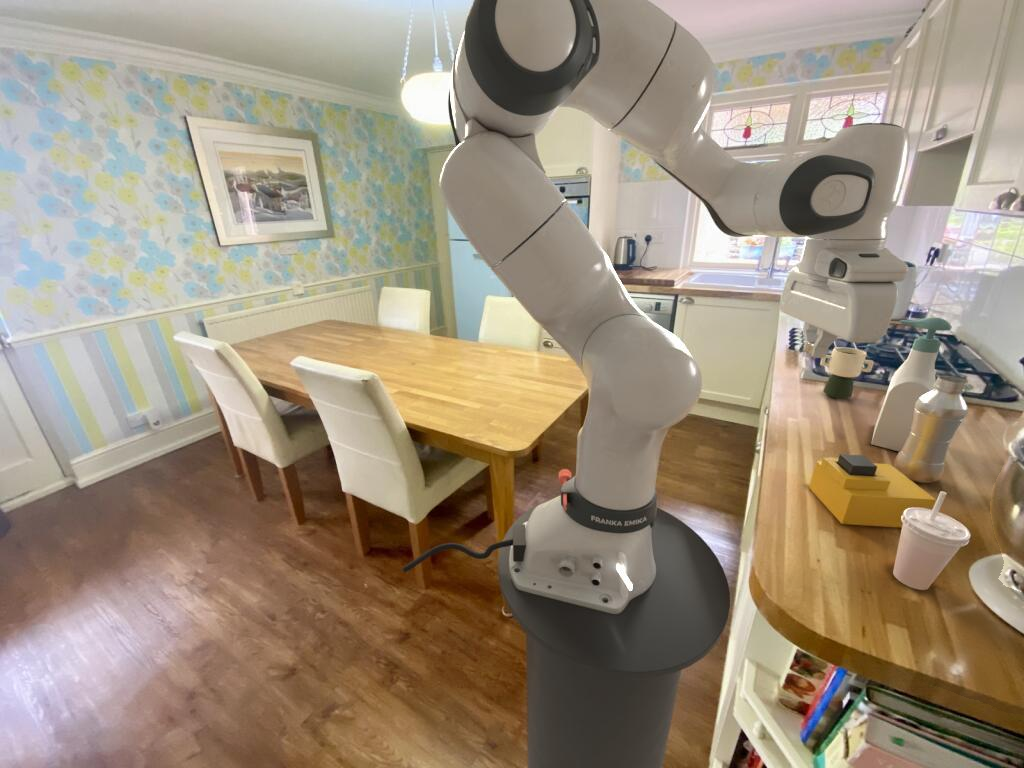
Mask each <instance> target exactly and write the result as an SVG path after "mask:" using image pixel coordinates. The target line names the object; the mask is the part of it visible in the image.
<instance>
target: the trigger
mask: <svg viewBox="0 0 1024 768" xmlns="http://www.w3.org/2000/svg"><path fill="white" fill-rule="evenodd" d="M838 458H839V459H838V462H837V464H838V465H839V466H840V467H841V468H842V469H843V470H844V471H846V472H847V473H848V474H849V475H854V476H874V475H875V472H876V469H877V466H876V465H875V464H873V463H874V462H872V461H871V460H869V459H868V458H867V457H866V456H865V455H864V454H847V453H840V454H839V456H838Z"/></svg>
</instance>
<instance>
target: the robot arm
mask: <svg viewBox="0 0 1024 768" xmlns="http://www.w3.org/2000/svg"><path fill="white" fill-rule="evenodd" d="M464 25H465V26H464V32H463V34H462V36H461V39H460V43H459V44H458V47H457V49H456V52H455V54H454V58H453V63H452V69H451V74H450V75H451V76H450V88H449V93H448V99H447V100H448V101H447V104H448V105H447V107H448V116H449V121H450V126H451V130H452V133H453V137H454V142H455V147H454V149H453V150H452V151H451V152H450V153H449V155H448V157H447V159H446V160H445V162H444V164H443V167H442V170H441V173H440V178H439V191H440V196H441V198H442V200H443V204H445V206H446V208H447V210H448V211H449V213H450V215H451V217H452V218H453V220H454V221H455V223H456V225H457V226H458V228H459V229H460V231H461V232H462V234H463V235H464V237H465V238H466V240H467V241H468V242H469V244H470V245H471V247H472V248H473V249H474V250H475V252H476V253H477V255H478V256H479V257H480V259H482V261H483V262H484V263H485V265H486V266H487V267H488V268H489V269H490V270H491V272H493V274H494V275H495V276H496V277H497V279H499V281H500V282H501V283H502V284H503V286H504V287H505V288H506V289H507V290H508V291H509V292H510V293H511V295H512V296H513V297H514V298H515V299H516V300H517V302H518V303H519V304H520V305H521V306H522V308H523V309H524V310H525V311H526V312H527V313H528V315H529V316H530V317H531V318H532V319H533V320H534V321H535V322H536V323H537V324H538V325H539V326H540V327H541V328H542V329H543V330H544V331H545V332H546V333H547V334H548V335H549V336H550V337H551V338H552V339H553V340H554V341H555V342H556V343H557V344H558V346H560V348H561V349H563V351H564V352H565V353H566V354H567V355H568V356H569V357H570V359H571V360H572V361H573V362H574V363H575V365H576V366H577V367H578V369H579V370H580V372H581V374H582V375H583V376H584V378H585V380H586V385H587V391H588V401H587V403H588V404H587V409H586V415H585V418H584V421H583V425H582V427H581V428H580V429H579V430H578V433H577V439H576V440H577V441H576V457H575V458H576V461H575V475H574V476H572V475H573V474H572V471H570V469H568V468H563V469H561V470H560V471H559V472H558V480H557V481H558V484H559V485H560V495H558V496H556V497H554V499H553V498H551V499H552V500H550V499H548V500H549V501H547V500H546V501H547V502H545V501H544V502H545V503H543V502H542V503H543V504H540V503H539V504H540V505H538V504H537V505H538V506H537V507H536V508H535V509H534V510H533V512H532V513H531V515H530V517H529V520H528V521H527V522H525V523H523V524H514V523H513V524H514V525H513V524H512V525H513V539H511V540H506V541H503V540H501V541H497V542H495V543H493V544H491V545H489V546H488V547H487V548H486V550H485V551H484V552H477V551H474V550H472V549H470V548H469V547H467V546H465V545H463V544H460V543H457V542H446V543H442V544H439V545H436V546H434V547H432V548H430V549H428V550H426V551H425V552H423V553H422V554H421V555H419V556H418V557H417V558H415V559H413V560H412V561H410V562H408V563H407V564H405V565H404V566H402V567H401V568H402V571H403V573H404V574H405V573H408V572H409V571H410V570H411V569H413V568H415V567H417V566H418V565H419V564H421V563H422V562H423V561H425V560H426V559H428V558H430V557H431V556H432V555H433V556H434V554H437V553H439V552H441V551H445V550H457V551H460V552H462V553H464V554H466V555H467V556H469V557H471V558H473V559H477V560H486V559H487V558H489V557H490V556H491V555H492V552H493V551H496V550H498V549H500V548H502V547H507V546H511V548H510V555H509V572H510V576H511V579H512V582H513V584H514V585H515V587H516V588H517V589H518V590H521V591H525V592H528V593H532V594H536V595H540V596H544V597H548V598H552V599H556V600H560V601H564V602H568V603H572V604H576V605H580V606H583V607H587V608H591V609H595V610H599V611H603V612H607V613H611V614H619V613H621V612H622V611H623V610H624V609H625V607H626V606H627V604H628V603H629V601H630V600H631V599H633V598H635V597H637V596H639V595H640V594H642V593H644V592H645V591H646V590H647V589H648V588H649V587H650V586H651V585H652V583H653V582H654V579H655V576H656V565H655V561H654V557H653V550H652V535H651V532H652V527H653V525H654V519H655V518H656V511H657V508H658V492H657V490H656V486H657V485H656V484H657V478H658V471H659V464H660V458H661V453H662V452H661V451H662V447H663V444H664V441H665V438H666V437H667V434H668V432H669V430H670V428H672V427H673V426H675V425H677V424H678V423H680V422H681V421H683V420H684V419H685V418H686V417H687V416H688V415H690V413H691V412H692V411H693V410H694V409H695V407H696V405H697V404H698V401H699V399H700V396H701V393H702V388H703V377H702V372H701V370H700V367H699V365H698V363H697V362H696V360H695V358H694V357H693V355H692V353H691V352H690V351H689V349H688V348H687V346H686V345H685V344H684V342H683V341H682V340H681V339H680V338H679V337H678V336H677V335H675V334H674V333H672V332H671V331H669V330H667V329H666V328H664V327H662V325H659V324H658V323H656V322H655V321H654V320H652V319H651V318H650V317H649V316H648V315H646V314H645V313H644V312H643V311H642V310H641V309H640V308H639V307H638V306H637V304H636V303H635V301H634V300H633V299H632V297H631V295H630V294H629V293H628V291H627V290H626V288H625V286H624V284H623V283H622V281H621V280H620V277H619V275H618V274H617V272H616V271H615V268H614V267H613V265H612V263H611V259H610V257H609V255H608V254H607V252H606V251H605V250H604V248H602V246H601V245H600V243H599V242H598V241H597V239H596V238H595V237H594V235H593V234H592V233H591V231H590V230H589V228H588V227H587V226H586V224H585V223H584V221H583V220H582V219H581V218H580V216H579V215H578V213H577V212H576V211H575V209H574V208H573V207H572V205H571V204H570V203H569V202H568V200H567V199H566V197H565V196H564V195H563V194H562V192H561V191H560V190H559V188H558V187H557V186H556V184H555V183H554V182H553V181H552V180H551V178H550V177H549V176H548V175H547V172H546V170H545V168H544V166H543V164H542V162H541V160H540V157H539V154H538V149H537V143H536V136H537V135H538V134H540V133H542V131H543V130H544V129H545V128H546V127H547V126H548V125H549V123H550V122H551V120H552V119H553V117H554V116H555V114H556V112H557V111H558V110H559V108H572V109H574V110H575V109H576V110H577V111H581V112H582V113H585V114H587V115H588V116H589V117H591V118H592V119H593V120H594V121H596V122H597V123H599V124H600V125H601V126H603V127H604V128H606V129H607V130H608V131H610V132H611V133H612V134H614V135H615V136H616V137H618V138H620V139H621V140H623V141H625V142H626V143H628V144H629V145H631V146H632V147H633V148H635V149H637V150H638V151H640V152H642V153H643V154H644V155H646V157H648V158H650V159H651V160H653V162H654V163H655V164H656V165H657V166H659V167H660V168H661V169H662V171H665V172H666V173H667V174H668V175H669V176H671V177H672V178H673V179H674V180H675V181H677V182H678V183H679V184H681V186H683V188H686V189H687V190H688V191H689V192H690V193H692V194H693V195H694V196H695V197H696V198H698V199H699V201H701V203H702V204H703V205H704V207H705V208H706V210H707V211H708V213H709V216H710V217H711V220H712V221H713V223H714V224H715V226H716V227H717V228H718V229H719V230H720V231H721V232H722V233H723V234H724V235H727V236H729V237H732V238H733V237H734V238H744V237H746V238H747V237H769V238H805V241H804V244H803V250H802V254H801V257H800V259H799V260H798V261H797V262H796V263H795V266H794V267H793V268H791V269H790V271H789V273H788V275H787V278H786V280H785V283H784V287H783V289H782V293H781V295H780V296H781V297H780V301H779V309H780V312H781V313H784V314H786V315H788V316H791V317H792V318H795V319H797V320H799V321H801V322H803V328H802V330H803V335H804V344H803V349H802V350H803V352H804V353H806V354H808V355H810V356H811V357H813V358H814V359H822V358H824V357H826V355H828V351H829V348H830V347H831V345H833V343H834V342H835V341H836V340H837V339H838V338H840V339H842V340H843V341H846V342H848V343H855V344H874V343H878V342H879V341H880V340H881V339H882V338H883V337H885V336H886V334H887V333H888V332H887V331H888V329H889V327H890V324H891V321H892V318H893V315H894V312H895V309H896V305H897V302H898V298H899V288H898V285H897V284H896V283H898V282H899V283H900V282H903V281H904V280H905V279H906V277H907V274H908V271H909V265H908V264H907V263H906V262H905V261H903V260H902V259H900V258H899V257H898V256H896V255H895V254H894V253H892V252H891V251H890V249H888V248H887V247H886V242H887V239H888V234H889V232H888V231H889V230H888V224H889V219H890V217H891V214H892V212H893V210H894V209H895V207H896V206H897V204H898V202H899V200H900V197H901V196H900V195H901V193H902V188H903V185H904V181H905V177H906V173H907V168H908V164H909V156H910V148H911V147H910V146H911V142H910V141H911V139H910V134H909V131H908V130H907V129H905V128H904V127H903V126H901V125H898V124H893V123H890V122H889V123H888V122H862V123H856V124H851V125H849V126H846V127H843V128H842V129H840V130H839V131H838V132H837V133H836V134H835V136H833V137H832V138H831V139H830V140H828V141H827V142H825V143H823V144H822V145H819V146H817V147H816V148H814V149H812V150H809V151H807V152H804V153H802V154H800V155H798V156H794V157H790V158H785V159H779V160H773V161H768V162H767V161H766V162H743V161H740V160H737V159H735V158H734V157H733V156H731V154H729V153H728V152H727V151H726V150H725V149H724V148H723V147H722V146H721V145H720V144H719V143H717V142H716V141H715V139H713V138H712V136H711V135H709V134H708V133H707V132H706V131H705V130H704V129H703V127H702V125H701V123H702V121H703V120H704V117H705V116H706V114H707V112H708V110H709V108H710V105H711V102H712V99H713V95H714V89H715V79H716V78H715V77H716V76H715V66H714V62H713V59H712V58H711V57H710V55H709V54H708V51H707V50H706V49H705V48H704V46H703V45H702V44H701V42H700V41H699V40H698V39H697V38H696V37H695V36H694V35H693V34H692V33H691V32H690V31H689V30H688V29H686V28H685V27H684V26H682V25H681V24H680V23H679V22H678V21H676V20H675V19H674V18H673V17H671V16H670V15H669V14H668V13H667V12H666V11H664V10H663V9H661V8H659V6H657V5H655V4H654V3H653V2H652V1H650V0H473V2H472V4H471V6H470V8H469V10H468V14H467V17H466V20H465V24H464ZM516 571H518V572H516ZM603 601H606V602H607V603H604V602H603Z"/></svg>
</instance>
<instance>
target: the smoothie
mask: <svg viewBox="0 0 1024 768" xmlns="http://www.w3.org/2000/svg"><path fill="white" fill-rule="evenodd" d="M946 496H947V492H945V491H942V490H941V491H940V492H939V494H938V497H937V499H936V501H935V503H934V506H933V508H932V510H929V509H925V508H908V509H906V510H905V511H904V513H903V515H902V516H901V520H902V522H903V526H902V528H901V531H900V532H901V533H900V536H899V540H898V546H897V550H896V555H895V559H894V566H893V570H892V575H893V576H894V577H895V578H896V580H898V581H899V582H900V583H902V584H903V585H905V586H907V587H908V588H911V589H915V590H918V591H926V590H928V589H930V587H931V586H932V585H933V583H934V582H935V580H936V579H937V578H938V577H939V575H940V574H941V572H943V570H944V569H945V568H946V566H947V565H948V564H949V562H950V561H951V560H952V558H953V557H954V556H955V555H956V554H957V552H959V550H960V548H961V547H966V546H967V545H968V544H969V543H970V539H971V532H970V531H969V529H968V528H967V527H966V526H965V525H964V524H962V522H960V521H958V520H956V519H955V518H953V517H951V516H949V515H947V514H945V513H942V512H939V511H940V509H941V507H942V505H943V503H944V500H945V498H946Z"/></svg>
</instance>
